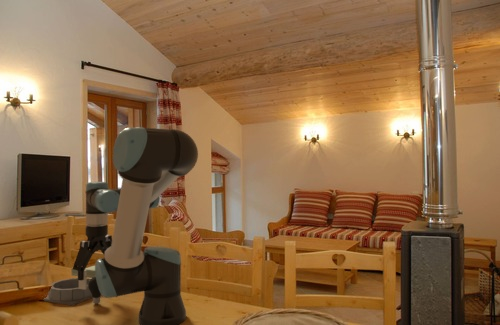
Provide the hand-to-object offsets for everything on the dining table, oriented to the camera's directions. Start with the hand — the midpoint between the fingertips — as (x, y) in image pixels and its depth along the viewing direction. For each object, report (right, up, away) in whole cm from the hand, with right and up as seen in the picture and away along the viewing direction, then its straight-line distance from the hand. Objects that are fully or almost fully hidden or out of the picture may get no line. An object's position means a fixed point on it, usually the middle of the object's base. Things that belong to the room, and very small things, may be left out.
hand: (96, 283), depth 149 cm
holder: (-12, -7, +9) cm, 17 cm away
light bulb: (0, -8, 0) cm, 8 cm away
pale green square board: (-7, -2, +24) cm, 25 cm away
